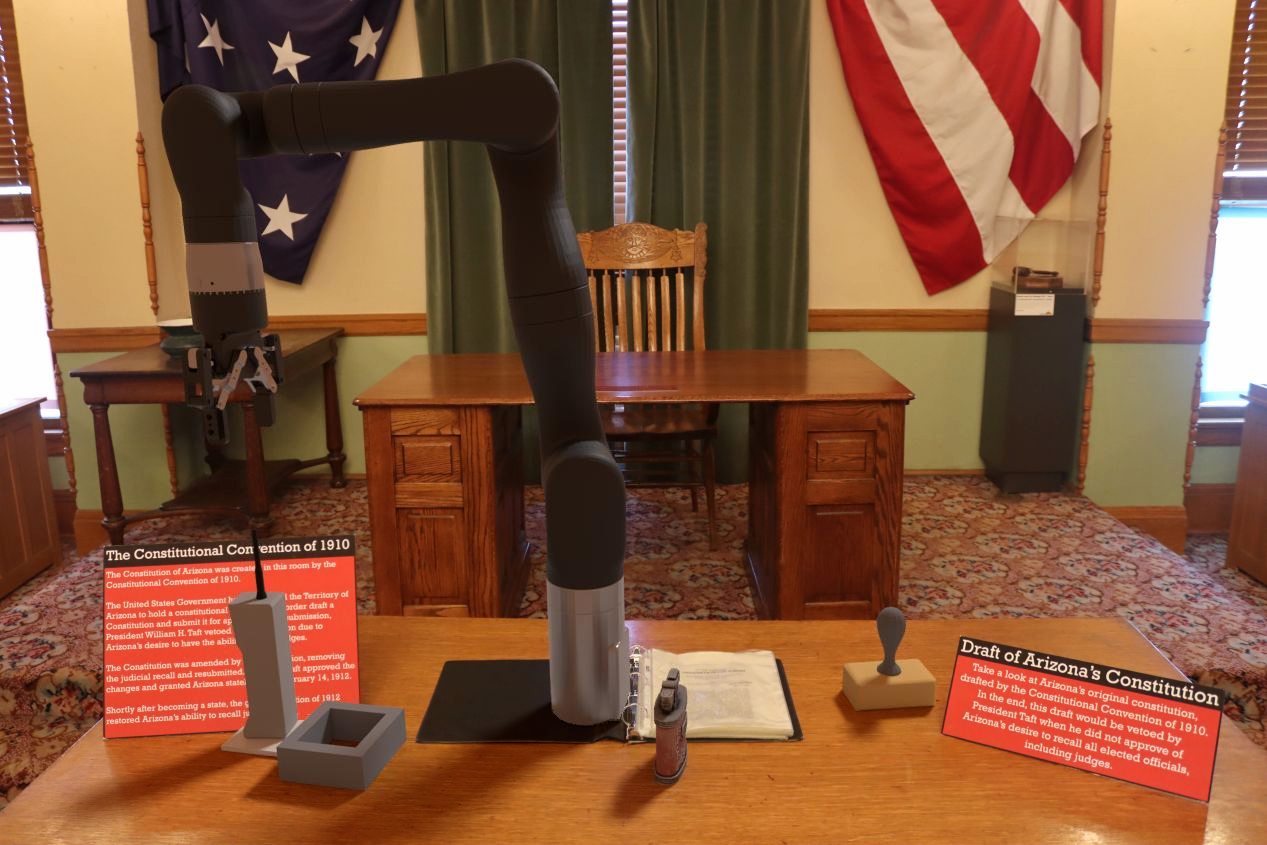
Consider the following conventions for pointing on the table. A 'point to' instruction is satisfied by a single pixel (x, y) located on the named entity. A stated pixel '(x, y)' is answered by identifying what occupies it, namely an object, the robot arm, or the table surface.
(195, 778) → the table surface
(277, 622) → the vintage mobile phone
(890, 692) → the rubber stamp
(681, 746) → the lighter
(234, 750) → the tile
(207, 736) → the table surface
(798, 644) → the table surface
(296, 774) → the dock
